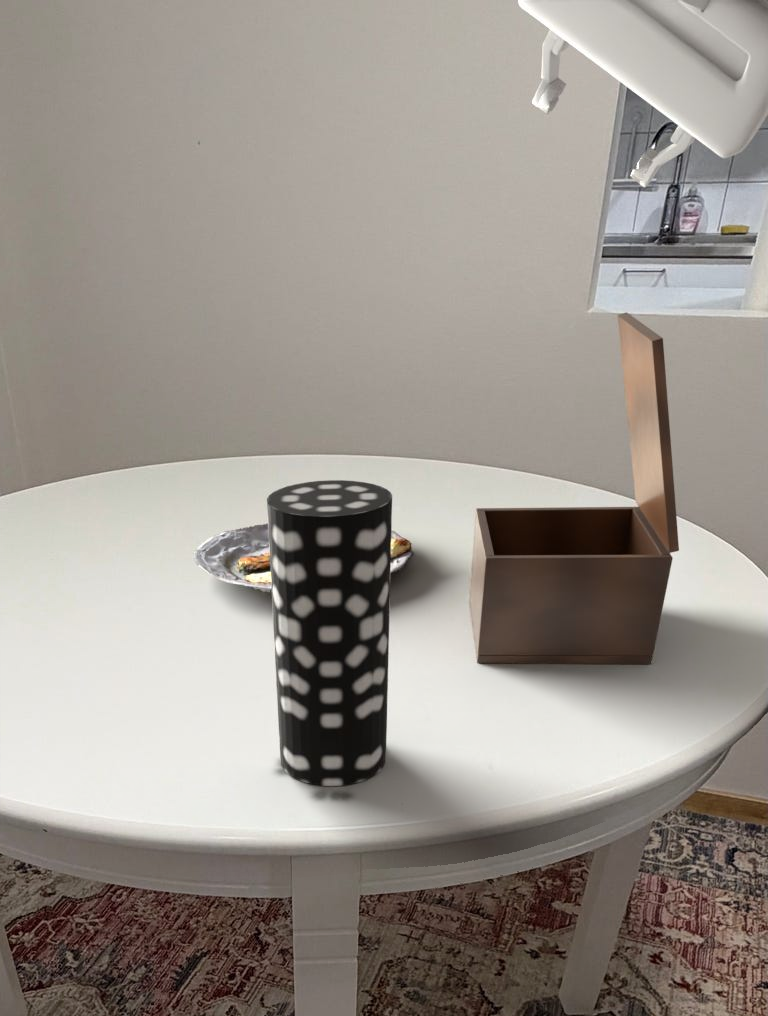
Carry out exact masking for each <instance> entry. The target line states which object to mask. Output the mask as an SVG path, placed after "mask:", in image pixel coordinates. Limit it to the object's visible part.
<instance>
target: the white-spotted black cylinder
mask: <svg viewBox="0 0 768 1016" xmlns="http://www.w3.org/2000/svg"><path fill="white" fill-rule="evenodd" d="M266 507H267V508H266V510H267V524H268V530H269V550H270V569H271V588H272V590H271V606H272V624H273V641H274V643H273V645H274V646H273V647H274V661H275V662H274V663H275V680H276V681H275V682H276V683H275V684H276V699H277V700H276V701H277V703H276V704H277V720H278V739H279V758H280V759H279V760H280V765H281V768H282V769H283V771H285V772H286V774H287V775H289V776H290V777H292V778H293V779H296V780H297V781H300V782H302V783H307V784H309V785H314V786H322V787H326V786H327V787H339V786H348V785H354V784H357V783H361V782H364V781H366V780H368V779H371V778H372V777H374V776H375V775H377V774H378V773H379V772H380V771H381V770H382V769H383V768H384V767H385V764H386V762H387V739H388V738H387V734H388V693H389V692H388V691H389V655H390V653H389V651H390V650H389V649H390V648H389V647H390V613H391V612H390V609H391V608H390V607H391V573H390V570H391V530H392V526H393V523H392V522H393V494H392V491H390V490H388V489H387V488H385V487H383V486H380V485H377V484H375V483H371V482H365V481H359V480H346V479H345V480H341V479H336V480H335V479H333V480H331V479H328V480H315V481H306V482H301V483H295V484H292V485H287V486H285V487H282V488H279V489H276V490H275V491H273V492H271V493H270V494H269V495H268V496H267V498H266Z"/></svg>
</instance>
